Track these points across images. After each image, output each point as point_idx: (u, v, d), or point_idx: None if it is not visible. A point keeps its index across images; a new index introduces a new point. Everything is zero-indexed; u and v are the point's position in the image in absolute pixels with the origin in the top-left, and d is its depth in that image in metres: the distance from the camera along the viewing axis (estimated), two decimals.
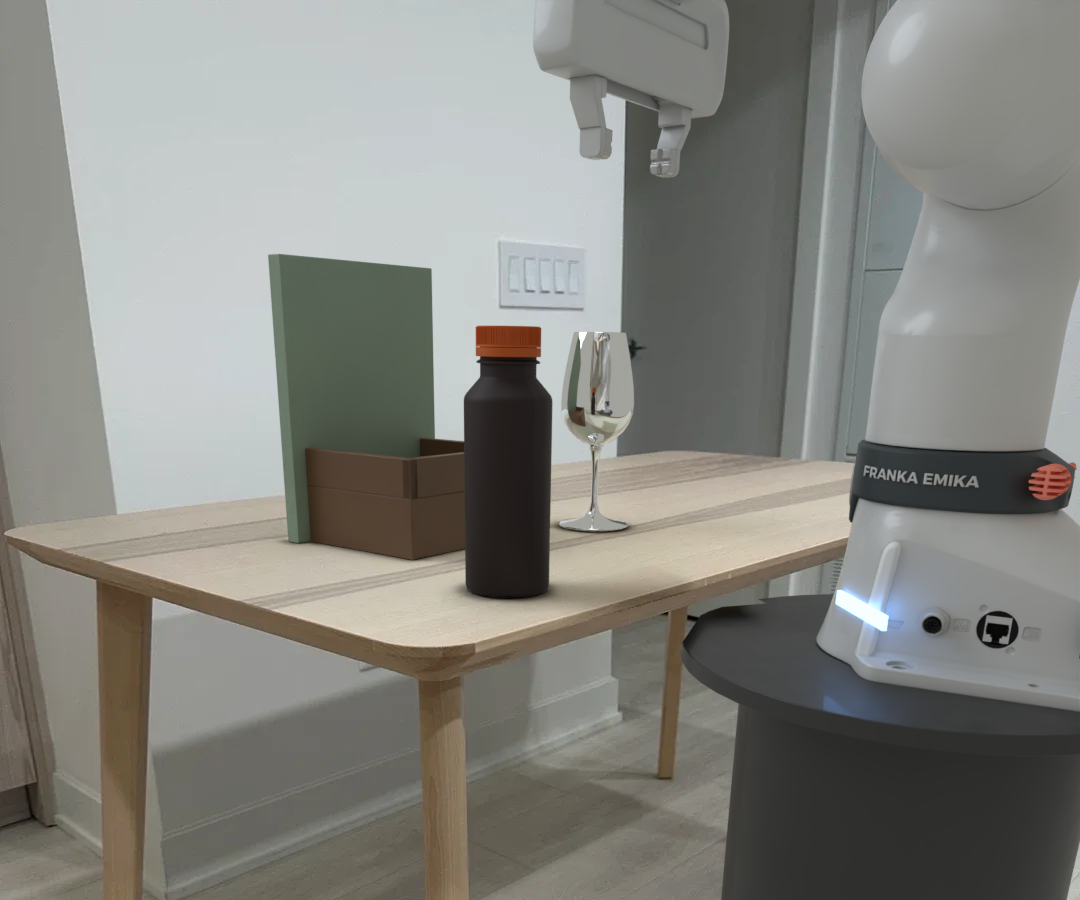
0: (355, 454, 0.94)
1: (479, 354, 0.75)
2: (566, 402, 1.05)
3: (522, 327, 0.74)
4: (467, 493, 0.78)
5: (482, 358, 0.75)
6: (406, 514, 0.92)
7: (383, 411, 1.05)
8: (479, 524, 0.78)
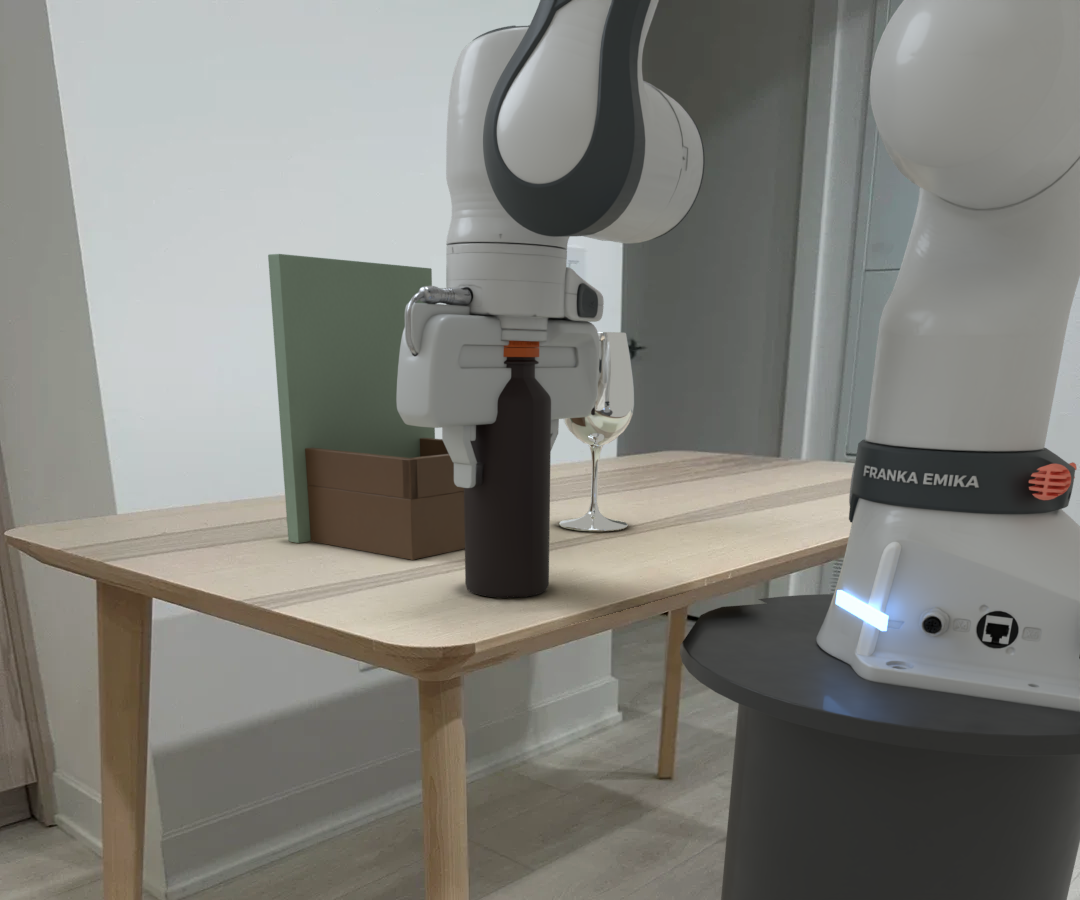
0: (355, 454, 0.94)
1: None
2: None
3: None
4: (466, 493, 0.79)
5: None
6: (406, 514, 0.92)
7: (383, 411, 1.05)
8: (478, 524, 0.78)
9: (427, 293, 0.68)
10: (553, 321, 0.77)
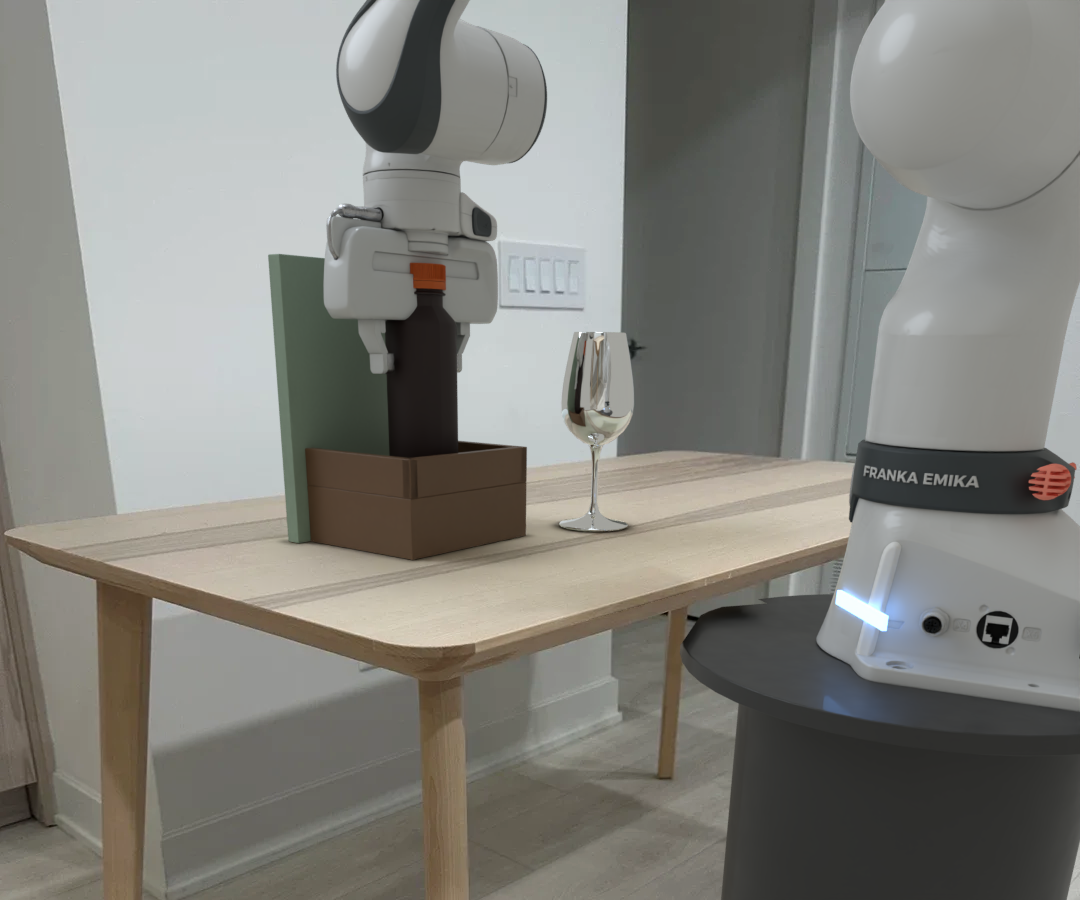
0: (355, 454, 0.94)
1: None
2: (566, 402, 1.05)
3: (428, 264, 0.92)
4: (388, 401, 0.97)
5: None
6: (406, 514, 0.92)
7: (383, 411, 1.05)
8: (397, 426, 0.96)
9: (344, 209, 0.86)
10: (453, 238, 0.95)
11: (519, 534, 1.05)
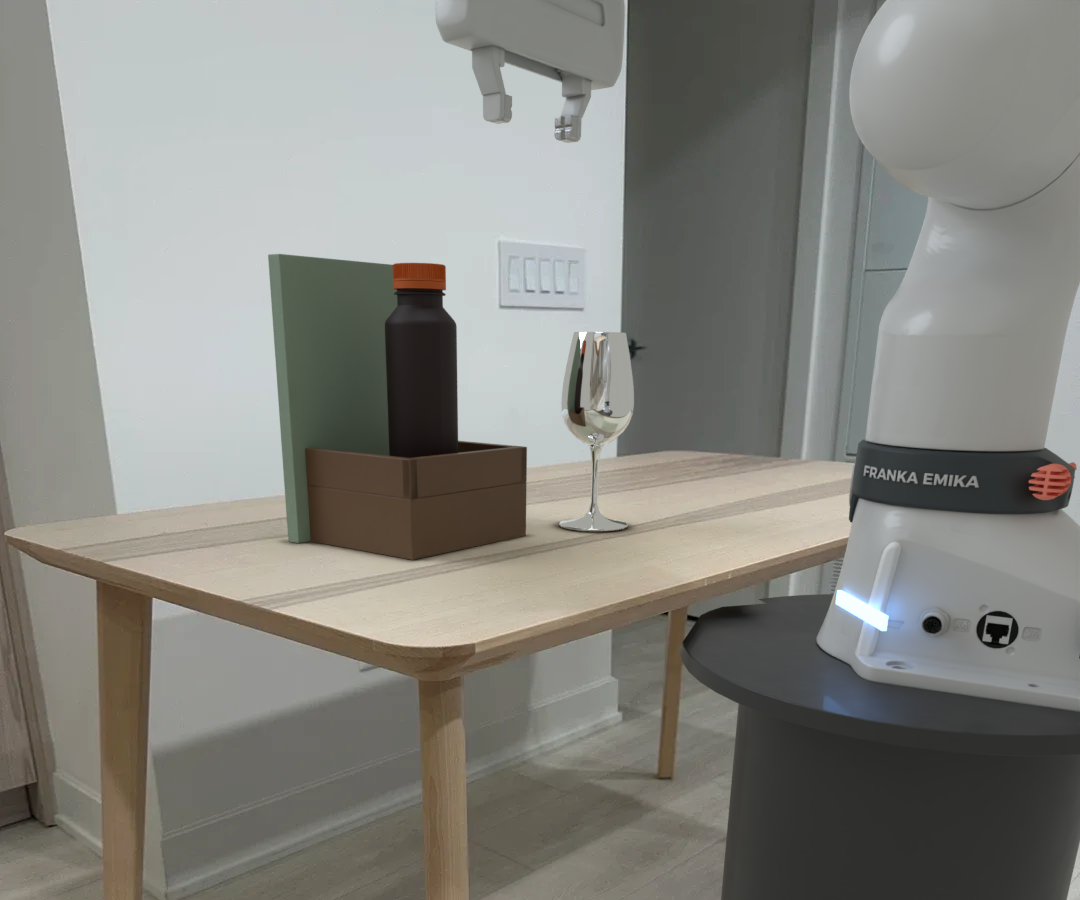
0: (355, 454, 0.94)
1: (395, 287, 0.94)
2: (566, 402, 1.05)
3: (428, 264, 0.92)
4: (388, 401, 0.97)
5: (398, 290, 0.94)
6: (406, 514, 0.92)
7: (383, 411, 1.05)
8: (397, 426, 0.96)
9: None
10: None
11: (519, 534, 1.05)
